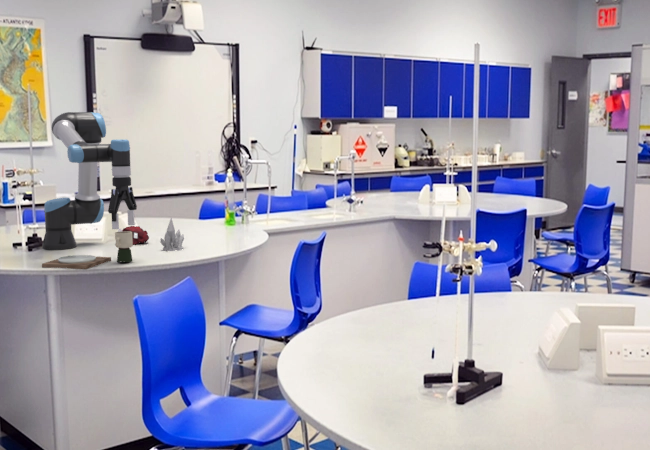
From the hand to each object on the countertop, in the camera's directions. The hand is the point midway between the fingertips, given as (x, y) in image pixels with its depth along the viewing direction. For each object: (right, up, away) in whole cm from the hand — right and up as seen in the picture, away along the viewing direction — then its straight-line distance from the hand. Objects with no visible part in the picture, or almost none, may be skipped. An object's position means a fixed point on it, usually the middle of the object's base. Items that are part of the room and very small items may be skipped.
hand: (123, 227), depth 313 cm
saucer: (-19, -14, -1) cm, 24 cm away
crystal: (+13, -11, +38) cm, 41 cm away
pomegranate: (-10, -8, +55) cm, 56 cm away
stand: (-19, -15, 0) cm, 25 cm away
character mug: (0, -15, +2) cm, 15 cm away
